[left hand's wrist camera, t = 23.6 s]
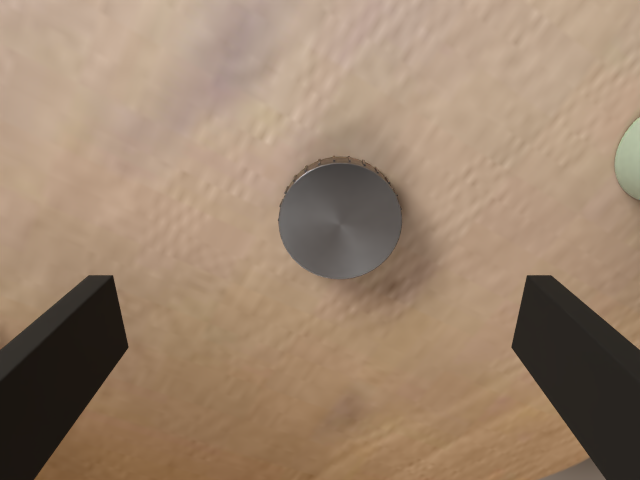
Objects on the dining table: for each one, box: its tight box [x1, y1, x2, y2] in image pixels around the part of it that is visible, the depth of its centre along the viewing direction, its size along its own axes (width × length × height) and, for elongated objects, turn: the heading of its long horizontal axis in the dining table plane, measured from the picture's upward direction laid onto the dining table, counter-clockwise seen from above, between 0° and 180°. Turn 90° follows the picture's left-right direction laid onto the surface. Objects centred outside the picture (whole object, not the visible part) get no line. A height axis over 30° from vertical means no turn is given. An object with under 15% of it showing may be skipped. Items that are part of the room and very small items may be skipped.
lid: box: [278, 156, 402, 279], centre depth 22 cm, size 7×7×2 cm
